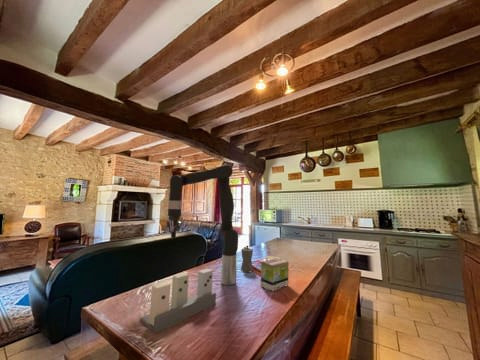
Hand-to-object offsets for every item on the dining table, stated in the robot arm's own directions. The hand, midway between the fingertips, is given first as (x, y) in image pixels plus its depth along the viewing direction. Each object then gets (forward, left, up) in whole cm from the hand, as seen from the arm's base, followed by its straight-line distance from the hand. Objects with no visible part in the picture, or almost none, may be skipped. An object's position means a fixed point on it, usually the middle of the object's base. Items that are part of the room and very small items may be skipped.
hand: (173, 237), depth 118 cm
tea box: (-62, -1, -29) cm, 68 cm away
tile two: (-10, +24, -27) cm, 37 cm away
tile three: (-21, +18, -27) cm, 39 cm away
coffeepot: (-49, -33, -29) cm, 66 cm away
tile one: (-4, +35, -27) cm, 44 cm away
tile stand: (-11, +25, -29) cm, 39 cm away
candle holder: (-66, -20, -29) cm, 75 cm away
